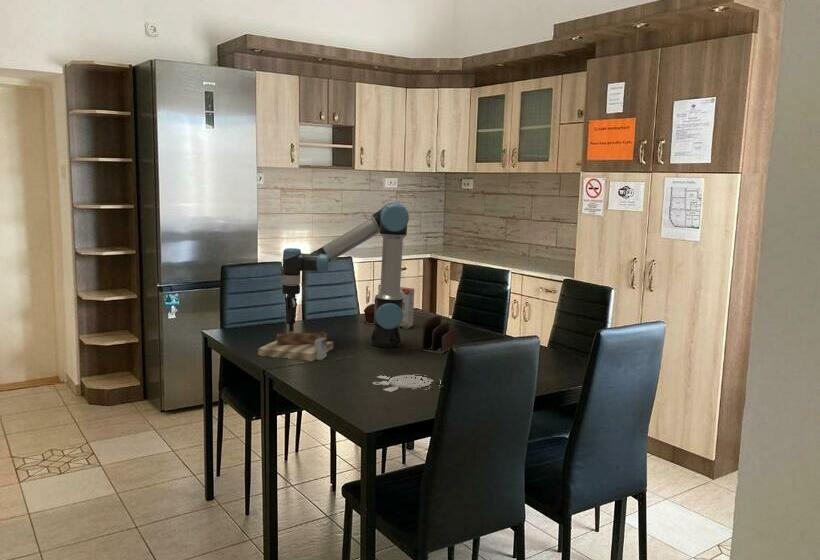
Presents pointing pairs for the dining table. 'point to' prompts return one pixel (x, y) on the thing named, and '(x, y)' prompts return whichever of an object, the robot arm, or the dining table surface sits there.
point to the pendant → (405, 382)
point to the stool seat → (291, 351)
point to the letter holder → (438, 335)
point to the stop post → (320, 348)
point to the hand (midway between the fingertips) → (290, 338)
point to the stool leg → (299, 338)
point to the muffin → (369, 313)
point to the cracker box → (407, 306)
